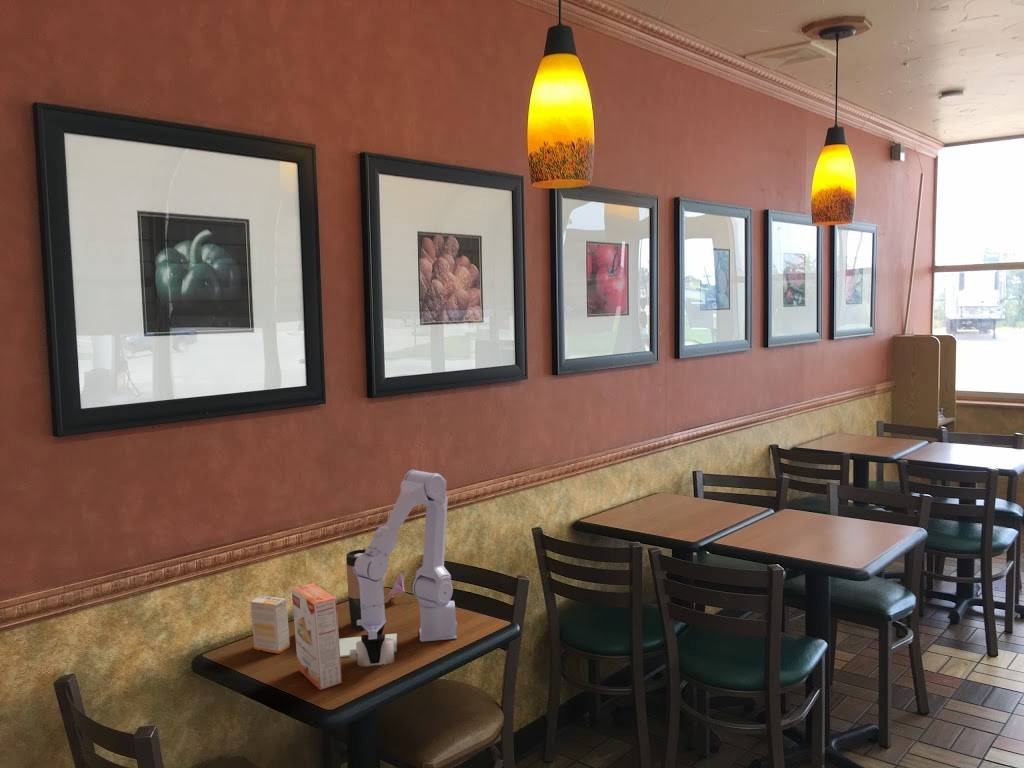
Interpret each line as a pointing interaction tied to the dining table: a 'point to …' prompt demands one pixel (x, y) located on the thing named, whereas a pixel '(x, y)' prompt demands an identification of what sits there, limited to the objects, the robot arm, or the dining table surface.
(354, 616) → the travel mug
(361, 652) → the grey rounded piece
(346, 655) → the mat
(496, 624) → the dining table surface
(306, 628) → the cracker box
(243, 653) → the dining table surface
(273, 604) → the supplement box
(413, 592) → the robot arm
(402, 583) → the lily
